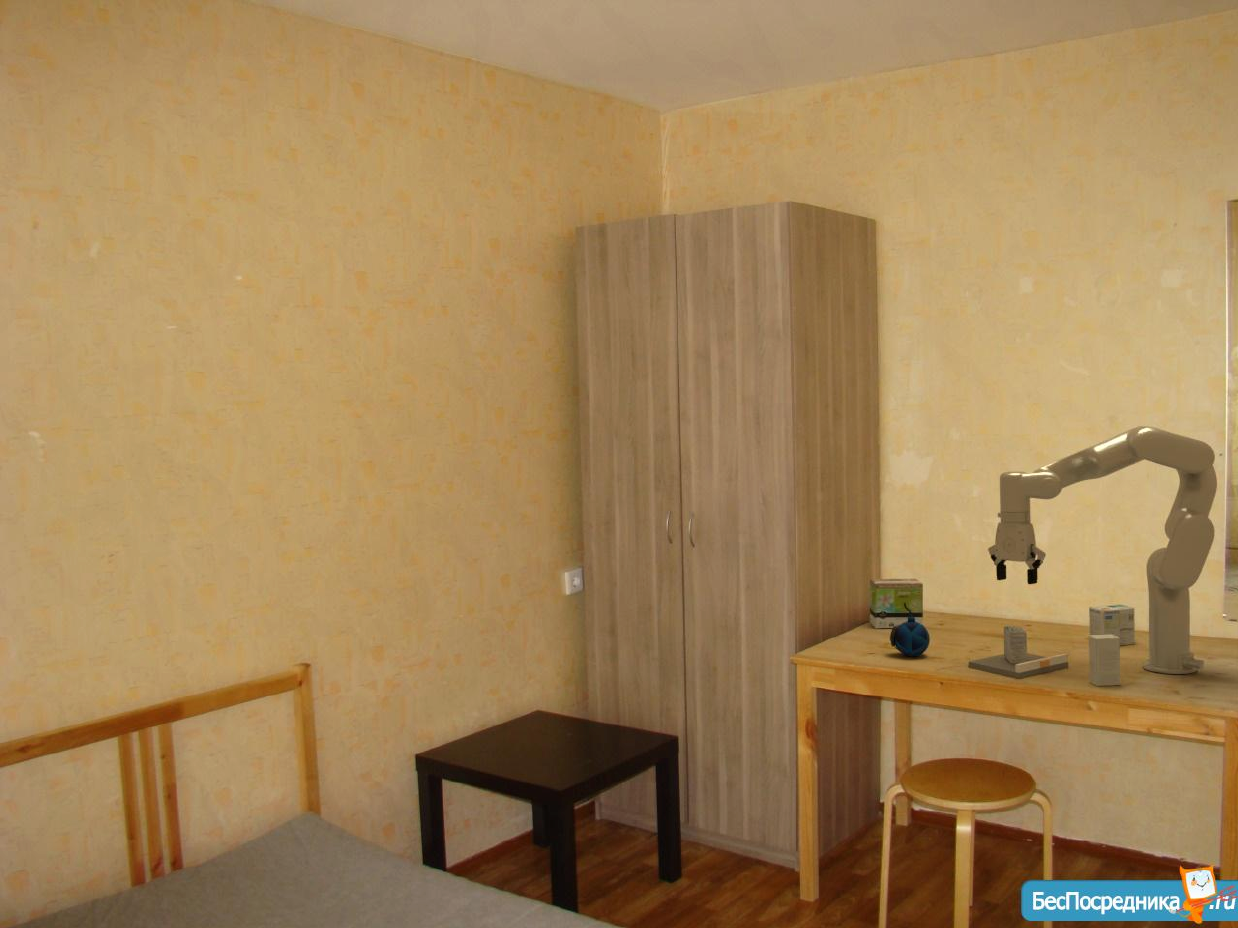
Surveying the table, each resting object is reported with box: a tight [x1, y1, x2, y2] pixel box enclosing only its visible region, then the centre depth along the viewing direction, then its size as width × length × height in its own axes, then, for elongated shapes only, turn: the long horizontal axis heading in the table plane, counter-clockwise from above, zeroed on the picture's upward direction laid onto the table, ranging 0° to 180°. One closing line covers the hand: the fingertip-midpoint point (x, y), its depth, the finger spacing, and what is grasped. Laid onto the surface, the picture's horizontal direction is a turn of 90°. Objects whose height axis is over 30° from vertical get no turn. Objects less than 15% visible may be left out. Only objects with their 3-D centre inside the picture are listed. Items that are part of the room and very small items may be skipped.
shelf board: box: [968, 652, 1069, 679], centre depth 288 cm, size 17×20×4 cm
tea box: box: [869, 578, 924, 630], centre depth 347 cm, size 15×10×15 cm, turn 88°
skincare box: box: [1088, 634, 1121, 687], centre depth 269 cm, size 6×4×12 cm
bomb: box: [889, 603, 931, 657], centre depth 305 cm, size 10×11×15 cm
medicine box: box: [1003, 625, 1028, 664], centre depth 289 cm, size 8×4×9 cm, turn 172°
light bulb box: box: [1088, 603, 1136, 646], centre depth 313 cm, size 11×7×11 cm, turn 105°
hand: (1016, 581), depth 290 cm, fingers open, 9 cm apart
